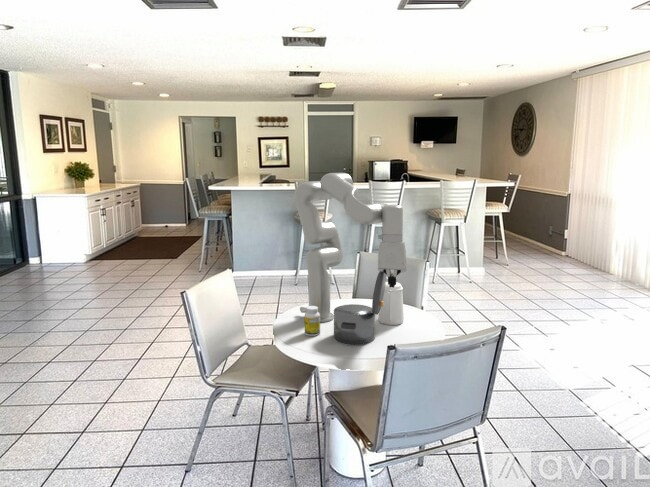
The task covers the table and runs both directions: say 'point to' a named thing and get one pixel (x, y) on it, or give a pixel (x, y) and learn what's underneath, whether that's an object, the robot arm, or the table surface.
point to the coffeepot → (392, 305)
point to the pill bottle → (312, 321)
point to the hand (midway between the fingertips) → (392, 286)
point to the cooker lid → (379, 293)
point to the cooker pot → (354, 324)
